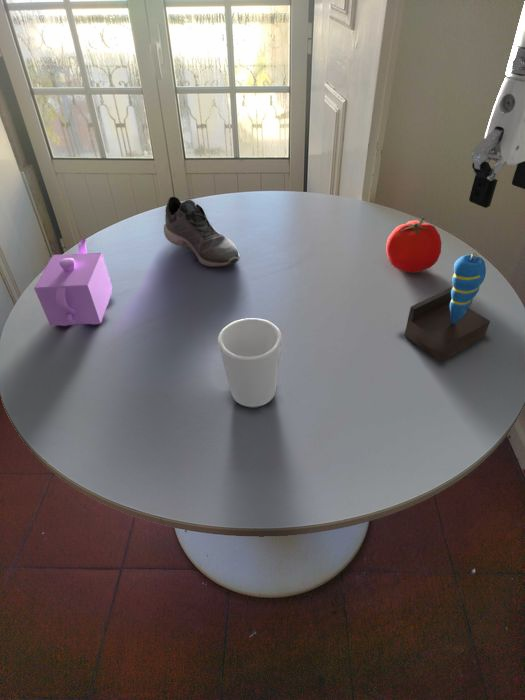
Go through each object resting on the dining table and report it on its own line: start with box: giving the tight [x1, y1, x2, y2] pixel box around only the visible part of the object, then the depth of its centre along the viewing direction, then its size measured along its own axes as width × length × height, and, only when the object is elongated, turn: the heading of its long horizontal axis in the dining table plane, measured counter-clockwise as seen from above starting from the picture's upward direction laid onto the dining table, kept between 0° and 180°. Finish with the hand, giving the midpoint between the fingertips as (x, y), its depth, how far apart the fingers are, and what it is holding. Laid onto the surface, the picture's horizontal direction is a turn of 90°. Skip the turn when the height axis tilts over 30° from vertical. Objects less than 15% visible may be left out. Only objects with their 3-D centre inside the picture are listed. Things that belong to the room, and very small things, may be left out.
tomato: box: [385, 217, 442, 274], centre depth 104 cm, size 12×12×11 cm
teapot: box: [34, 238, 114, 327], centre depth 96 cm, size 20×10×12 cm, turn 2°
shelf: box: [404, 285, 491, 363], centre depth 87 cm, size 9×12×7 cm
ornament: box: [450, 250, 487, 324], centre depth 81 cm, size 5×5×15 cm
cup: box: [217, 317, 283, 410], centre depth 76 cm, size 10×10×13 cm
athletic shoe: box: [163, 196, 241, 268], centre depth 113 cm, size 10×26×12 cm, turn 39°
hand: (500, 195), depth 69 cm, fingers open, 9 cm apart
